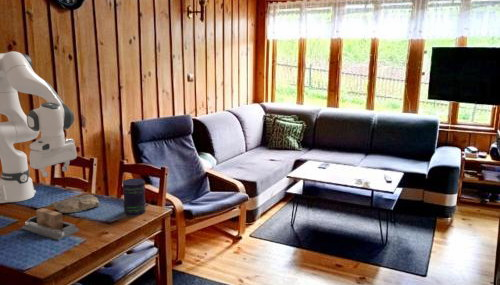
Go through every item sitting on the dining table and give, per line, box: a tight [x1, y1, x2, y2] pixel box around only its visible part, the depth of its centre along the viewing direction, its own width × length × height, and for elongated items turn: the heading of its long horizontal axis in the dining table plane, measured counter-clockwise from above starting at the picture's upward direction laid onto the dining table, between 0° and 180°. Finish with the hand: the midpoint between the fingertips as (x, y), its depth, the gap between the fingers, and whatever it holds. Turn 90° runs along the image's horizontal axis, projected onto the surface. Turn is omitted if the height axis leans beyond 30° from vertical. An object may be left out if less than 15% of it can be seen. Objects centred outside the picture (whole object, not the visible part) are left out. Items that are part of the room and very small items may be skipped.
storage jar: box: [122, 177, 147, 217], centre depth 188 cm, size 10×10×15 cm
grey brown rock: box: [53, 194, 100, 214], centre depth 193 cm, size 14×5×20 cm
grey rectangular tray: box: [21, 215, 80, 241], centre depth 168 cm, size 22×10×3 cm, turn 64°
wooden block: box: [35, 207, 63, 230], centre depth 168 cm, size 12×4×7 cm, turn 64°
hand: (55, 173), depth 172 cm, fingers open, 8 cm apart
